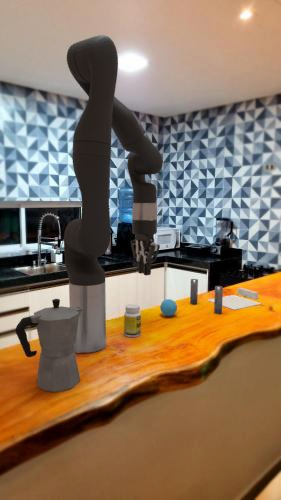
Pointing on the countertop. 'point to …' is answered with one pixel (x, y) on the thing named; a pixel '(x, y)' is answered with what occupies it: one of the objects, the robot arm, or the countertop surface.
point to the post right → (218, 300)
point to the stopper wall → (247, 293)
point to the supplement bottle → (132, 320)
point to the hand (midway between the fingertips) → (144, 273)
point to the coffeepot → (54, 345)
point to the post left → (194, 291)
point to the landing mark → (236, 302)
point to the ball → (168, 307)
